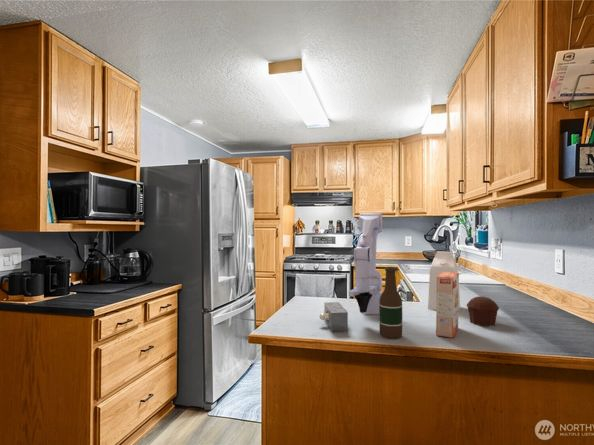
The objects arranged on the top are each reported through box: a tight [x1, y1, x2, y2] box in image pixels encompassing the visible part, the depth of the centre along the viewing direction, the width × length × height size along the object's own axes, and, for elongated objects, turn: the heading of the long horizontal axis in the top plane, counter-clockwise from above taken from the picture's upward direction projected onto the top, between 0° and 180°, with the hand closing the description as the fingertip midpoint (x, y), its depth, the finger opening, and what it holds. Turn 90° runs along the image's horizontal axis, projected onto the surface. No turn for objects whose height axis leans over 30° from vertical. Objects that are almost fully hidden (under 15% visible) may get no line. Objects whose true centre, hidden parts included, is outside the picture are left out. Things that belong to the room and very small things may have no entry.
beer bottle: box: [378, 266, 403, 340], centre depth 121 cm, size 8×8×24 cm
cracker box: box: [435, 272, 460, 339], centre depth 124 cm, size 14×6×21 cm, turn 148°
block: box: [323, 301, 349, 333], centre depth 133 cm, size 6×16×7 cm, turn 5°
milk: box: [427, 250, 461, 311], centre depth 159 cm, size 12×12×26 cm
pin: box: [319, 312, 329, 321], centre depth 133 cm, size 10×5×5 cm, turn 95°
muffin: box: [466, 296, 500, 327], centre depth 135 cm, size 12×11×10 cm
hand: (363, 312), depth 134 cm, fingers closed
